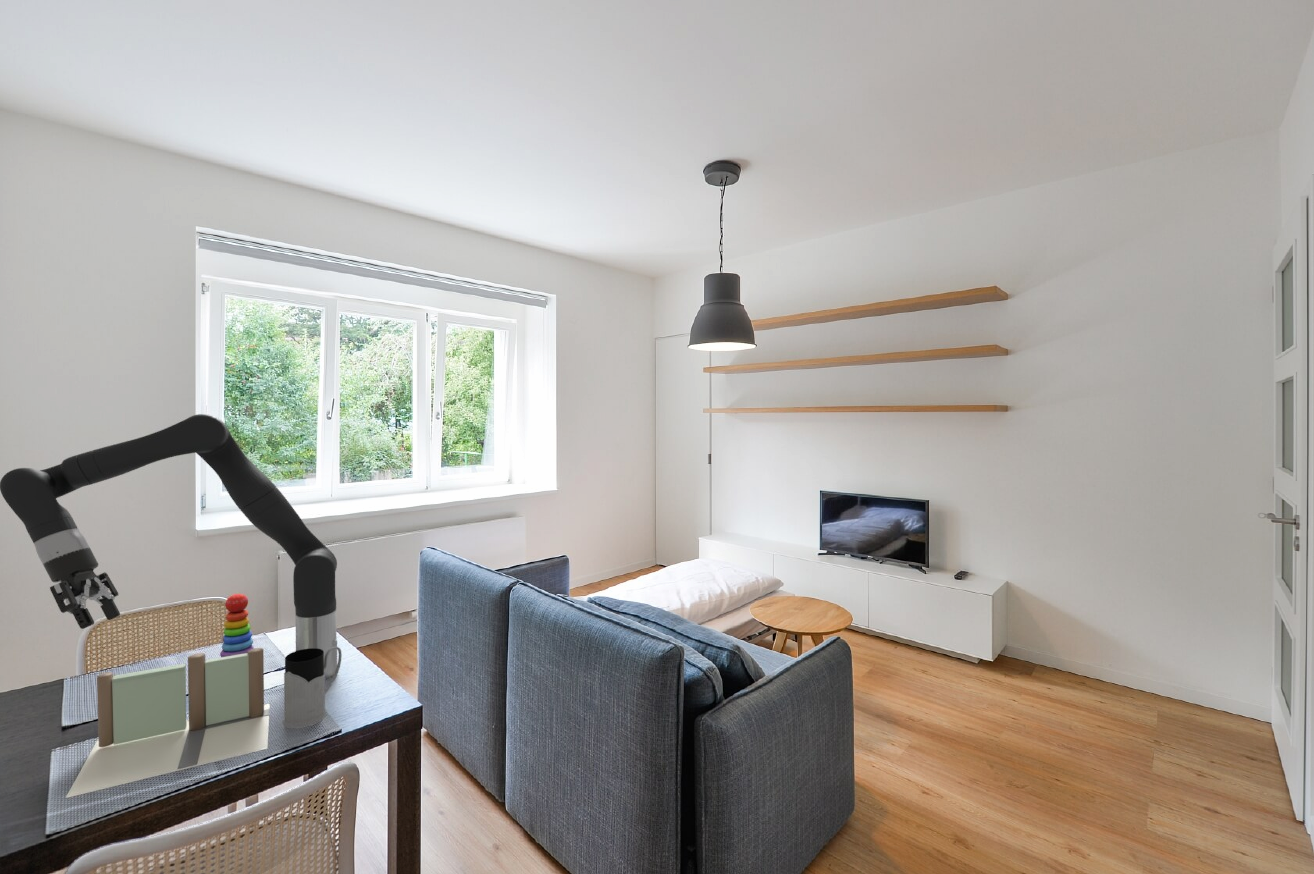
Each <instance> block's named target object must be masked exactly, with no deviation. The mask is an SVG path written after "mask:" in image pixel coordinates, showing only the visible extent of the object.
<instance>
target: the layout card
mask: <svg viewBox="0 0 1314 874" xmlns="http://www.w3.org/2000/svg"><path fill="white" fill-rule="evenodd" d="M270 708H271V704H270V703H267V704H265V703H264V714H263V715H262V716H260V717H257V718H249V717H248V716H247V717H242V718H238V719H233V720H229V721H224V722H219V723H215V724H210V725H206V727H205V728H203V729H201V730H197V731H190V730H189V720H187V726H186V729H185V730H180V731H176V732H171V733H167V734H162V735H157V736H153V737H148V738H143V739H139V740H134V741H130V742H125V743H120V744H116V745H114V743H113V744H112V745H109V746H106V747H99V739H97V740H96V742H95V744H94V746H93V747H92V749H91V751H90V753H89V754H88V756H87V758H86V760H85V762H84V763H83V765H82V767H81V769H80V770H79V772H78V775H77V777H76V778H75V780H74V782H73V784H72V785H71V788H70V789H69V791H68V793H67V795H66V796H65V799H68V798H72V797H76V796H80V795H84V794H89V793H93V792H97V791H101V790H104V789H105V790H106V789H109V788H113V787H116V786H121V785H125V784H130V783H134V782H138V781H142V780H146V779H150V778H154V777H159V776H162V775H167V774H171V773H175V772H178V771H183V770H186V769H191V768H195V767H199V766H202V765H203V766H204V765H207V764H211V763H216V762H219V761H223V760H228V759H232V758H236V757H240V756H244V755H248V754H252V753H256V752H260V751H263V750H265V751H266V750H268V743H269V727H270V726H269V724H270V710H271V709H270Z"/></svg>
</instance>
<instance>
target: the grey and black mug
mask: <svg viewBox="0 0 1314 874" xmlns="http://www.w3.org/2000/svg"><path fill="white" fill-rule="evenodd" d="M335 648H337V654H338V656H337V668H336V671H335V673H334V676H333V677H331V679H330V681H329V683H328V684H327V686H326V687H325V685H326V683H325V681H326V680H325V673H324V670H325V669H326V667H327V658H328V655H329V653H330V652H331V651H332V650H333V649H335ZM342 656H343V655H342V650H341V648H340V647H339V646H337V647H332V648H330V649H329V650H328V651H327V653H326V655H325V658H324V651H323V650H322V649H318V648H308V649H302V650H298V651H296V650H295V651H293V652H290V653H288V654H287V655H286V656H285V658H284V673H283V682H284V685H283V686H284V687H283V689H284V690H283V691H284V693H283V694H284V697H283V698H284V700H283V701H284V707H283V708H284V709H283V710H284V718H283V722H282V725H283V726H284V727H285V728H287V729H288V728H289V729H301V728H306V727H307V728H308V727H310V726H312V725H315V724H316V725H317V724H318V723H320V722H321V721H323V720H324V719H325V718H326V716H327V711H326V694H327V693H328V691H329V689H330V688H331V686H332V685H333V683H334V682H335V680H336V678H337V676H338V673H339V671H340V667H341V663H342V658H343V657H342Z"/></svg>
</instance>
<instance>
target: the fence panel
mask: <svg viewBox="0 0 1314 874" xmlns="http://www.w3.org/2000/svg"><path fill="white" fill-rule="evenodd" d="M186 665H187V664H186V663H181V664H175V665H168V666H163V667H157V668H152V669H145V670H139V671H134V672H133V671H132V672H128V673H121V674H117V675H116V674H115V675H114V672H113V671H112V672H111V671H110V672H109V671H108V672H104V673H103V672H102V673H101V674H98V675H97V676H96V693H97V694H96V695H97V728H98V729H97V733H98V739H97V740H99V747H106V746H109V745H112V744H113V743H114V745H116V744H120V743H125V742H130V741H134V740H139V739H143V738H148V737H153V736H157V735H162V734H167V733H171V732H176V731H180V730H185V729H186V726H187V721H188V720H187V681H186V680H187V679H186V678H187V675H186V673H187V671H186V670H187V669H186V668H187V666H186Z"/></svg>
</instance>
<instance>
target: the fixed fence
mask: <svg viewBox="0 0 1314 874" xmlns="http://www.w3.org/2000/svg"><path fill="white" fill-rule="evenodd" d="M264 661H265V659H264V648H262V647H257V648H254V649H251V650H249V651H248V652H247V653H244V654H238V655H232V656H227V657H221V656H220V657H215V658H210V659H206V653H204V652H200V653H194V654H191V655H188V657H187V681H188V682H187V685H188V687H187V688H188V689H187V691H188V695H187V698H188V721H189V730H190V731H197V730H201V729H203V728H205V727H206V725H210V724H215V723H219V722H224V721H229V720H233V719H238V718H242V717H247V716H248V717H249V718H257V717H260V716H262V715H263V714H264V705H265V678H264V675H265V673H264V670H265V669H264V667H265V666H264V663H265V662H264Z"/></svg>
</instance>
